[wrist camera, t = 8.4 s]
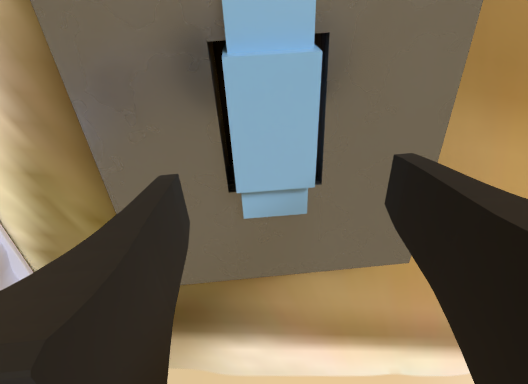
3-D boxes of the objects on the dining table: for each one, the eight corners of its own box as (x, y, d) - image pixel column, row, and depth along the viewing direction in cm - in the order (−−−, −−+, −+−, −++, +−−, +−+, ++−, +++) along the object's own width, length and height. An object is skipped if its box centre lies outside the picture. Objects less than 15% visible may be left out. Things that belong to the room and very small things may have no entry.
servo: (299, 179, 21) (312, 221, 18) (239, 183, 21) (240, 227, 18) (304, -19, 15) (326, -17, 12) (219, -15, 15) (214, -10, 11)
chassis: (391, 233, 25) (409, 262, 22) (155, 256, 24) (146, 288, 22) (488, -200, 12) (551, -244, 10) (5, -174, 12) (-56, -212, 9)
